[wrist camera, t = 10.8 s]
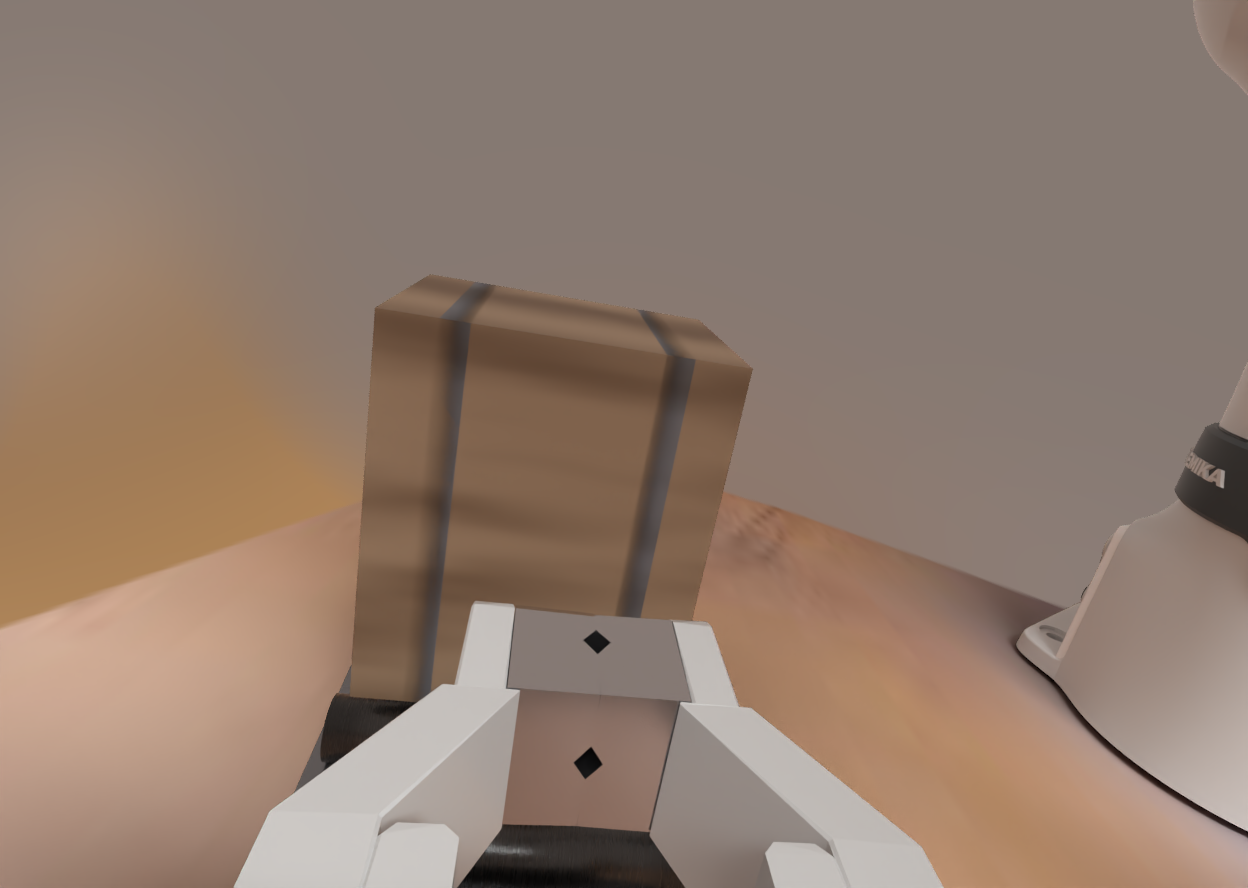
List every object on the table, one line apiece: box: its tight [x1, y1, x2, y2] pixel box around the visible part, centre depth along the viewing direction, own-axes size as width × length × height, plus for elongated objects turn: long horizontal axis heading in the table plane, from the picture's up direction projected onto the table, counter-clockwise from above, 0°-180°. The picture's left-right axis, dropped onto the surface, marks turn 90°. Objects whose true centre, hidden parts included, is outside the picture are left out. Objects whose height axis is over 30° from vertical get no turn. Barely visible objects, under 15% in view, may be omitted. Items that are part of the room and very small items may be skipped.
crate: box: [350, 275, 753, 702], centre depth 24 cm, size 8×10×12 cm
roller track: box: [294, 665, 685, 888], centre depth 22 cm, size 22×12×6 cm, turn 5°
